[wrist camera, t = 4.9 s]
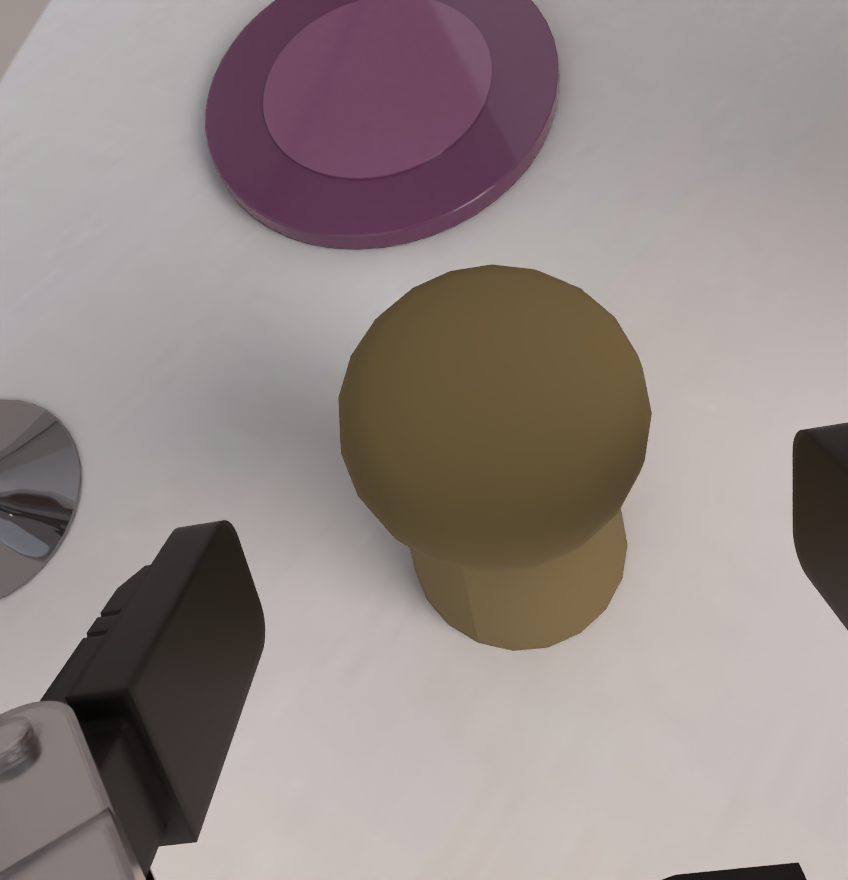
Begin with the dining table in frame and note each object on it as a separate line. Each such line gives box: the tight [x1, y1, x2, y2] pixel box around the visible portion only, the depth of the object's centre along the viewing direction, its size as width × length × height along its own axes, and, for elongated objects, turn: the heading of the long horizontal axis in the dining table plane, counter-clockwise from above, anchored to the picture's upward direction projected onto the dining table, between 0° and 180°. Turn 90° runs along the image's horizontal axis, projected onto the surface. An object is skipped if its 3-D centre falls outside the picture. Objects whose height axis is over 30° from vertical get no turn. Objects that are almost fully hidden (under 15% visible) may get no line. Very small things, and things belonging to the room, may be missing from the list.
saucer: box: [205, 0, 559, 249], centre depth 28 cm, size 13×13×1 cm
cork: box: [339, 265, 652, 651], centre depth 16 cm, size 6×6×11 cm
